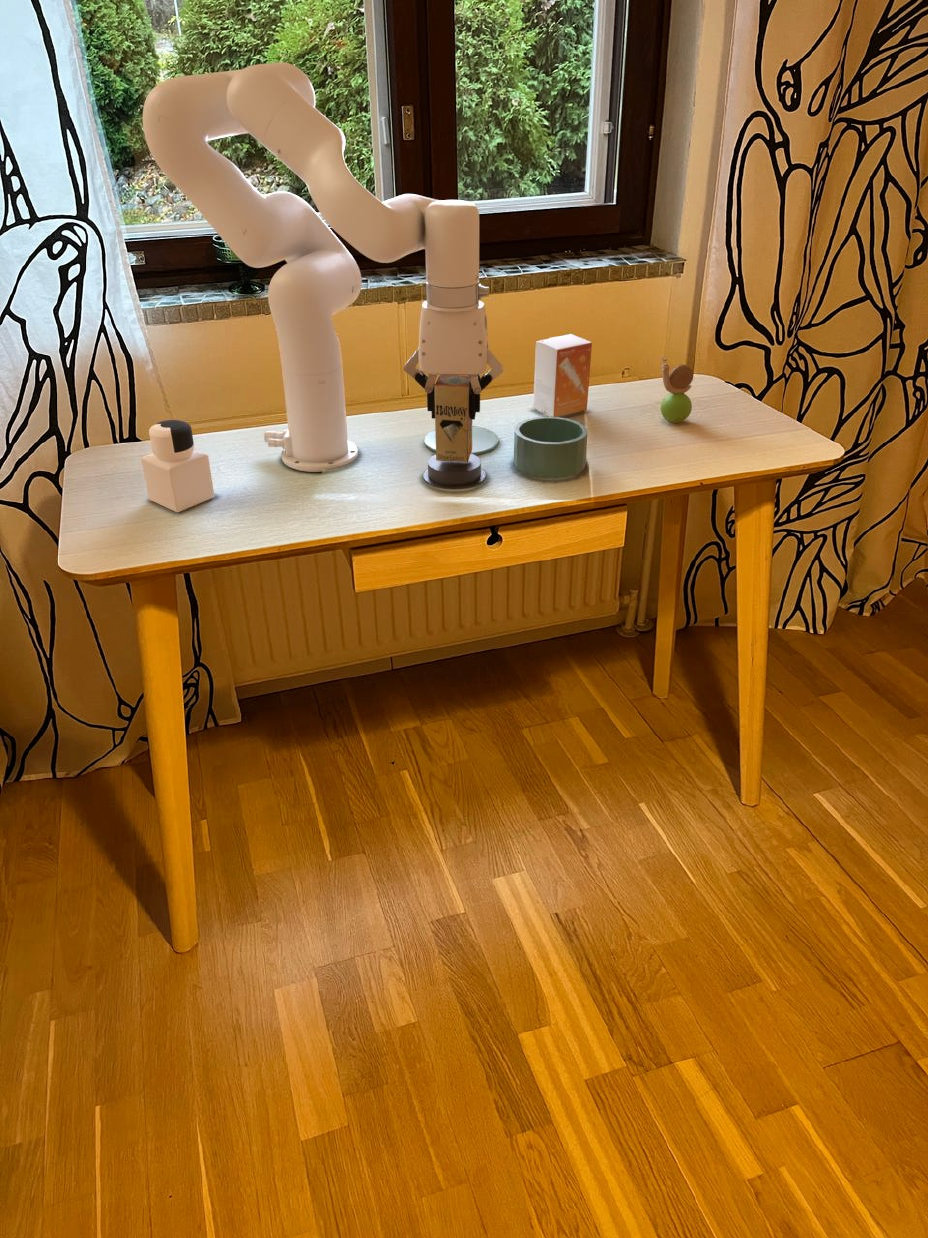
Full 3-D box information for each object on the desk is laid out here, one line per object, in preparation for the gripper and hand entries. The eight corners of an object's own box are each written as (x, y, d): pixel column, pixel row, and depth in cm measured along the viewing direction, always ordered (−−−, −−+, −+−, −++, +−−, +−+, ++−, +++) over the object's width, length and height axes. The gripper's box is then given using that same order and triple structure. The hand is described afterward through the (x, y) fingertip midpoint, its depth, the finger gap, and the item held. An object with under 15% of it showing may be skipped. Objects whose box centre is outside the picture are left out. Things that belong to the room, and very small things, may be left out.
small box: (553, 421, 175) (556, 349, 168) (532, 410, 180) (534, 340, 173) (588, 411, 179) (593, 341, 172) (566, 401, 183) (570, 332, 176)
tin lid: (420, 458, 161) (419, 426, 158) (428, 429, 172) (427, 399, 169) (496, 460, 160) (497, 428, 157) (499, 431, 171) (500, 401, 168)
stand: (419, 491, 151) (419, 473, 149) (426, 465, 159) (426, 448, 157) (484, 493, 150) (484, 475, 148) (487, 467, 158) (487, 449, 157)
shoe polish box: (441, 448, 155) (440, 374, 148) (472, 449, 154) (472, 375, 147) (436, 460, 150) (434, 385, 144) (467, 462, 150) (467, 386, 143)
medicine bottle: (186, 484, 153) (174, 411, 146) (215, 497, 149) (204, 423, 143) (148, 500, 148) (133, 425, 142) (177, 513, 144) (163, 437, 138)
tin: (512, 480, 154) (513, 443, 151) (514, 451, 164) (515, 415, 160) (586, 482, 153) (588, 444, 150) (583, 453, 163) (586, 417, 160)
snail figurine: (648, 418, 176) (655, 353, 170) (680, 414, 178) (688, 349, 171) (662, 429, 172) (670, 362, 165) (695, 425, 173) (704, 358, 167)
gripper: (513, 288, 141) (510, 408, 151) (396, 287, 143) (401, 405, 152) (511, 302, 135) (508, 426, 145) (389, 300, 136) (395, 423, 146)
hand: (453, 414), depth 149 cm, fingers closed on shoe polish box, 5 cm apart
